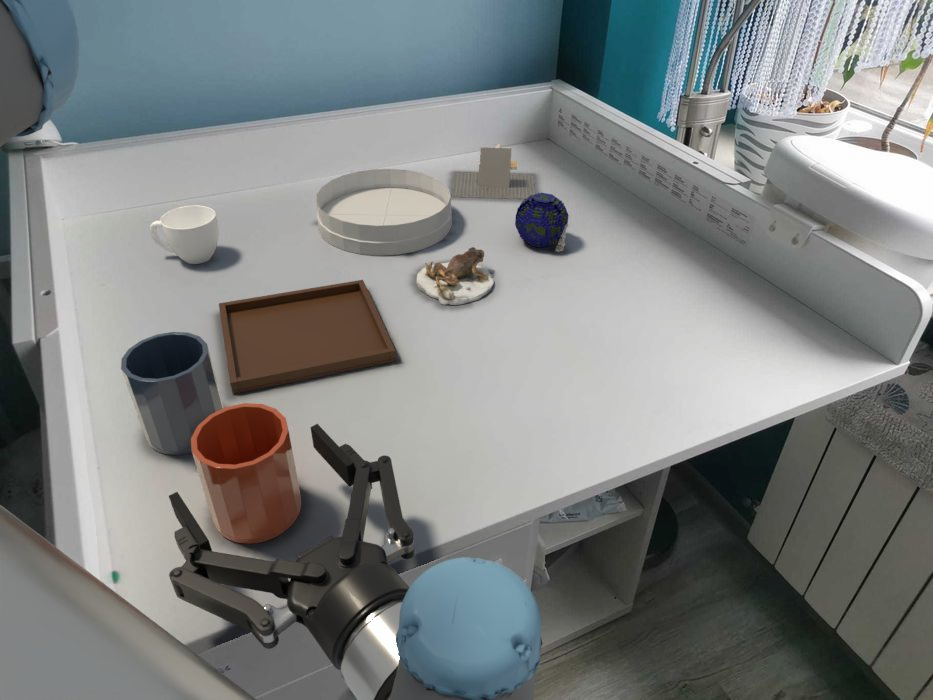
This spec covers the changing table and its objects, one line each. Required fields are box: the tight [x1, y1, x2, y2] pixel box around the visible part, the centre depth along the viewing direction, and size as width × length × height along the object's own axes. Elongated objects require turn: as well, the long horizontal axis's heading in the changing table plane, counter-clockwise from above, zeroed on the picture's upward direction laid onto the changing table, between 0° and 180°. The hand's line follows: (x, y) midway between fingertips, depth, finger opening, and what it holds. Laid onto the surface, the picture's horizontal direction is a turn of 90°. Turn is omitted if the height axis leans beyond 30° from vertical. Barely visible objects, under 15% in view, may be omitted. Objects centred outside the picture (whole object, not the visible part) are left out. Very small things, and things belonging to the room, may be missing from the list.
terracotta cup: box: [191, 402, 302, 544], centre depth 64 cm, size 8×8×10 cm
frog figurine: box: [415, 246, 495, 306], centre depth 101 cm, size 12×12×4 cm
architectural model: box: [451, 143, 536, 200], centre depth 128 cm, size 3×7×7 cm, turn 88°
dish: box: [315, 168, 453, 257], centre depth 115 cm, size 22×22×5 cm
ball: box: [514, 192, 570, 253], centre depth 110 cm, size 8×8×8 cm
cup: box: [149, 204, 220, 265], centre depth 104 cm, size 8×10×7 cm
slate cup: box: [120, 331, 224, 456], centre depth 73 cm, size 8×8×10 cm
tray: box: [218, 279, 397, 395], centre depth 90 cm, size 20×18×2 cm
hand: (249, 467), depth 64 cm, fingers open, 13 cm apart
